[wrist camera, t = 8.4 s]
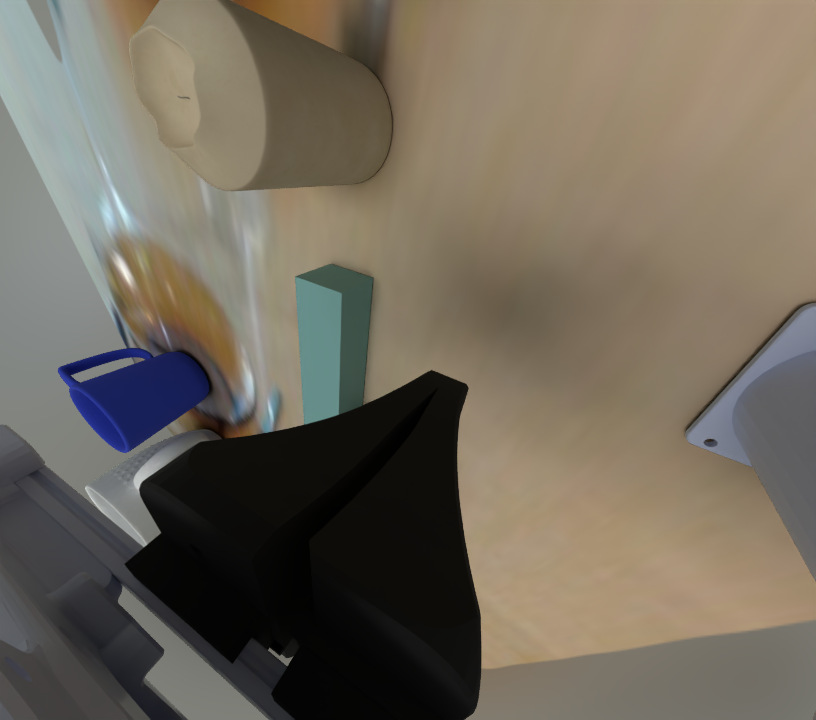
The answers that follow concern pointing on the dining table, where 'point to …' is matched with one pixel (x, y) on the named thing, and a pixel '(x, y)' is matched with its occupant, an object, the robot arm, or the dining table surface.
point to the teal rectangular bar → (332, 339)
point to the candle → (257, 99)
